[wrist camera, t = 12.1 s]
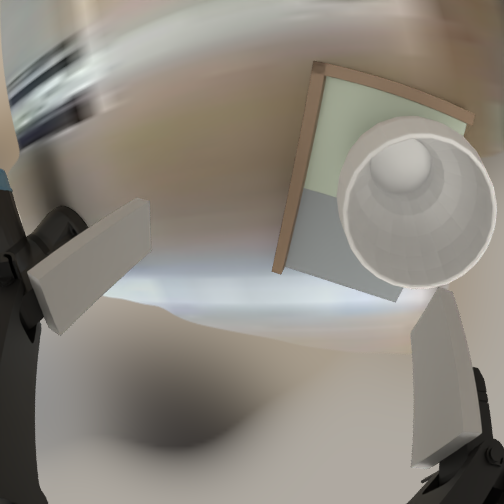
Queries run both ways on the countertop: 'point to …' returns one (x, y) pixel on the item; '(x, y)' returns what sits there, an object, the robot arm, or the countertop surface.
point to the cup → (416, 202)
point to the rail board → (331, 162)
